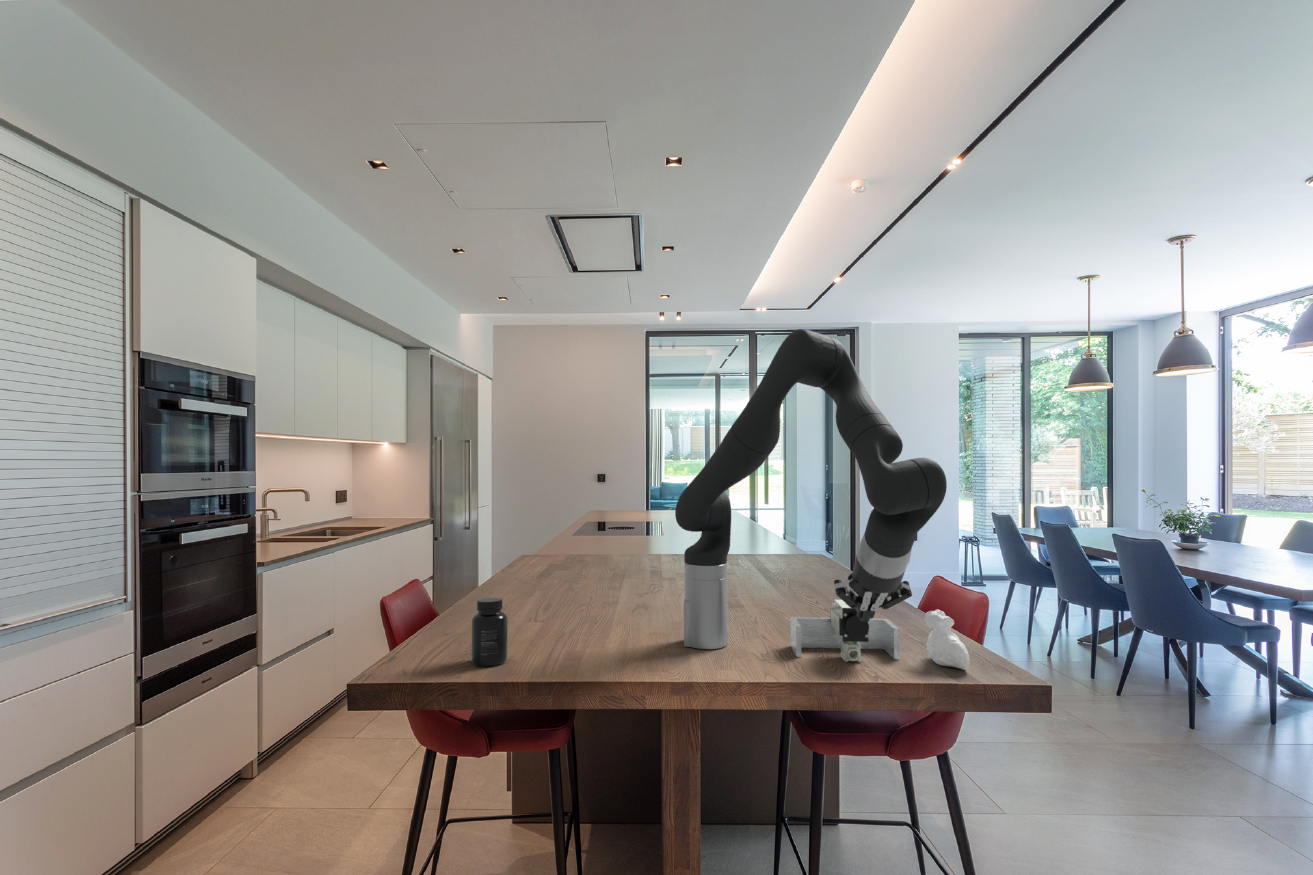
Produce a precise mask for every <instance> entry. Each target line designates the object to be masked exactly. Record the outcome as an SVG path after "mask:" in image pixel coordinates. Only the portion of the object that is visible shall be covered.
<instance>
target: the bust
mask: <svg viewBox="0 0 1313 875" xmlns="http://www.w3.org/2000/svg"><path fill="white" fill-rule="evenodd" d="M924 624H925V625H926V628H931V629H933V630H931V631H930V632H929V633H928V637H927V639H926V640H927V641H926V642H927V643H926V649H927V650H926V651H927V653H928V655H929V657H930V659H932V661H933V662H934V663H935V664H936V665H939V666H944V667H951V668H957V669H961V670H966V671H967V670H968V669H969V667H970V661H971V660H970V655H969V652H968V650H967V647H966V645H965V644H964V643H963V642H962V641H961V640H960V639H959V636H957V634H955V633H954V632H953V631H952V629H951V628H952V627H953V626H954V625H955V620H954V619H952V618H951V617H950V616H948V615H946V613H945V612H944V611H943V610H940V609H938V608H937V609H935V610H929V611H927V612H926V613H925V615H924Z"/></svg>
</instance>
